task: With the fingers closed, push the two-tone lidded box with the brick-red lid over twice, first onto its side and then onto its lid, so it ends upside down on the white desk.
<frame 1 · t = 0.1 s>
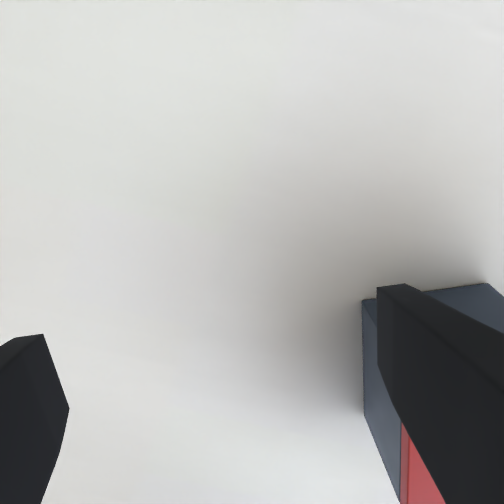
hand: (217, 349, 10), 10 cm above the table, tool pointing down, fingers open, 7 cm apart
two-tone lidded box: (422, 352, 23), on the table
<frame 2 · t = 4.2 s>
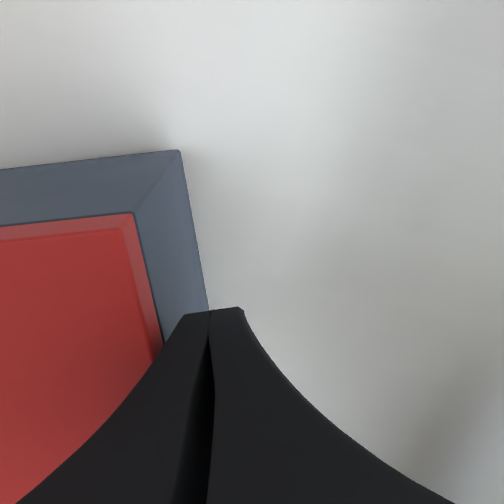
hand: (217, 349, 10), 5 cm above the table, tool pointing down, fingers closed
two-tone lidded box: (105, 271, 15), on the table, tilted 5°, touching gripper
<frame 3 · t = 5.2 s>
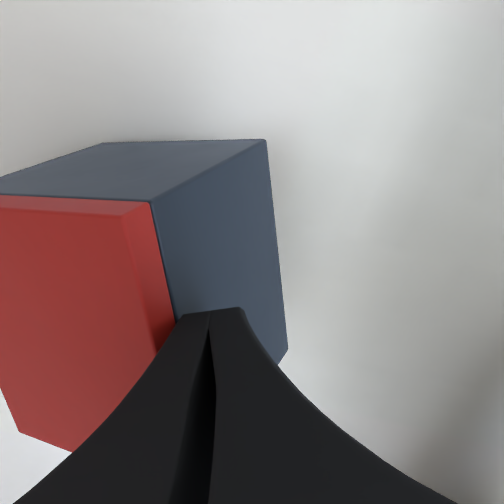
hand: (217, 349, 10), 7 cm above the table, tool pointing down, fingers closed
two-tone lidded box: (196, 246, 16), point 2 cm above the table, tilted 31°, touching gripper
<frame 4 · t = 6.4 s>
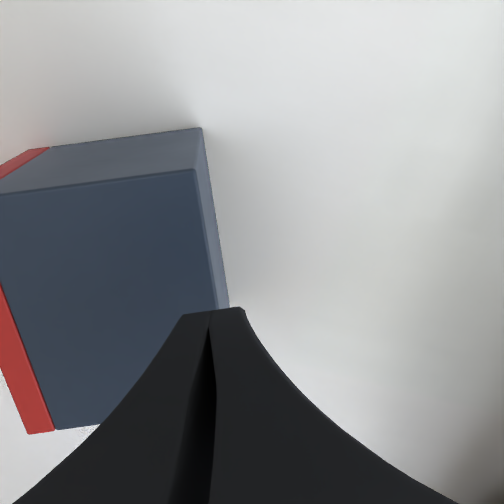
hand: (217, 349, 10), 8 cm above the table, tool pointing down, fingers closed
two-tone lidded box: (217, 254, 15), point 3 cm above the table, tilted 90°
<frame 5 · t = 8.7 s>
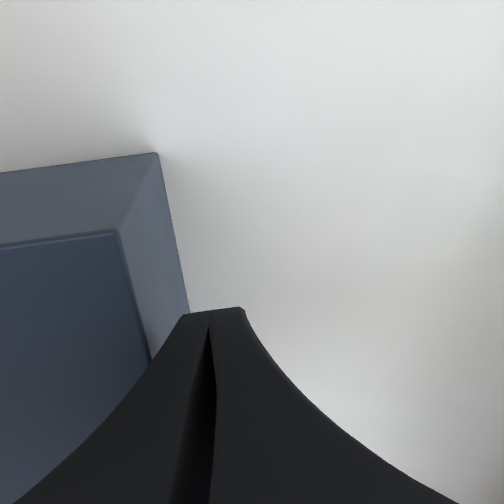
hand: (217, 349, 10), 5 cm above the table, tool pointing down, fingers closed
two-tone lidded box: (173, 316, 12), point 3 cm above the table, tilted 90°, touching gripper
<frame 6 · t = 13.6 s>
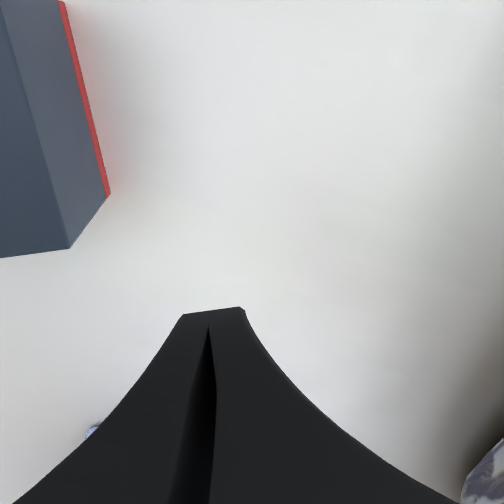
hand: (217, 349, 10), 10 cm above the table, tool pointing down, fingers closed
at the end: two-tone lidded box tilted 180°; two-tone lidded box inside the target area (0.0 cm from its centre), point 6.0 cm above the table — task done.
